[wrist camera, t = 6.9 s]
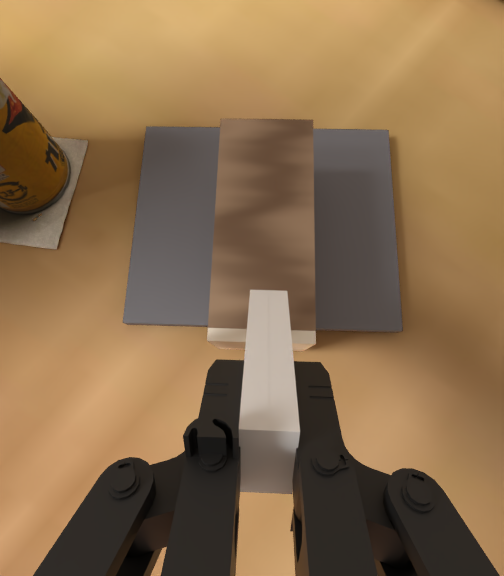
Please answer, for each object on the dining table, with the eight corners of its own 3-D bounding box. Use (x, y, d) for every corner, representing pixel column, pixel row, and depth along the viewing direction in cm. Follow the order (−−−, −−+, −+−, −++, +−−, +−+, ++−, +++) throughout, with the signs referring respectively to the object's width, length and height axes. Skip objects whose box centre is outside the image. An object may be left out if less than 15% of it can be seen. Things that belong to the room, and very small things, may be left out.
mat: (127, 324, 22) (122, 322, 22) (149, 134, 26) (146, 126, 25) (397, 332, 22) (402, 330, 21) (384, 137, 25) (388, 129, 24)
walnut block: (206, 340, 16) (220, 118, 19) (218, 348, 21) (228, 170, 24) (316, 344, 16) (312, 119, 19) (302, 351, 21) (302, 171, 24)
